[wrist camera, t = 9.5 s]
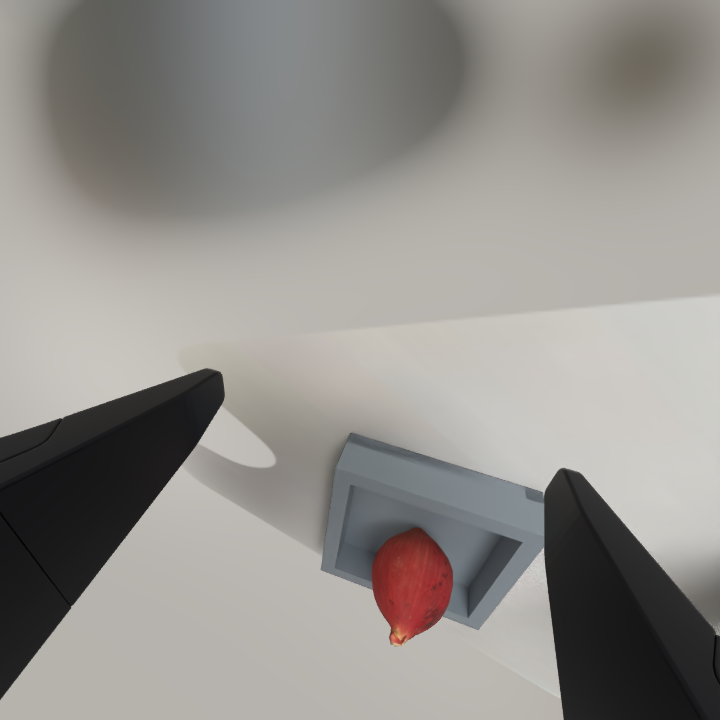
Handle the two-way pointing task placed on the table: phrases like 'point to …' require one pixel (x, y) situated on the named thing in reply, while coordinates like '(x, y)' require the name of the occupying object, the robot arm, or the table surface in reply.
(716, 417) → the table surface
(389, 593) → the onion
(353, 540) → the tray
